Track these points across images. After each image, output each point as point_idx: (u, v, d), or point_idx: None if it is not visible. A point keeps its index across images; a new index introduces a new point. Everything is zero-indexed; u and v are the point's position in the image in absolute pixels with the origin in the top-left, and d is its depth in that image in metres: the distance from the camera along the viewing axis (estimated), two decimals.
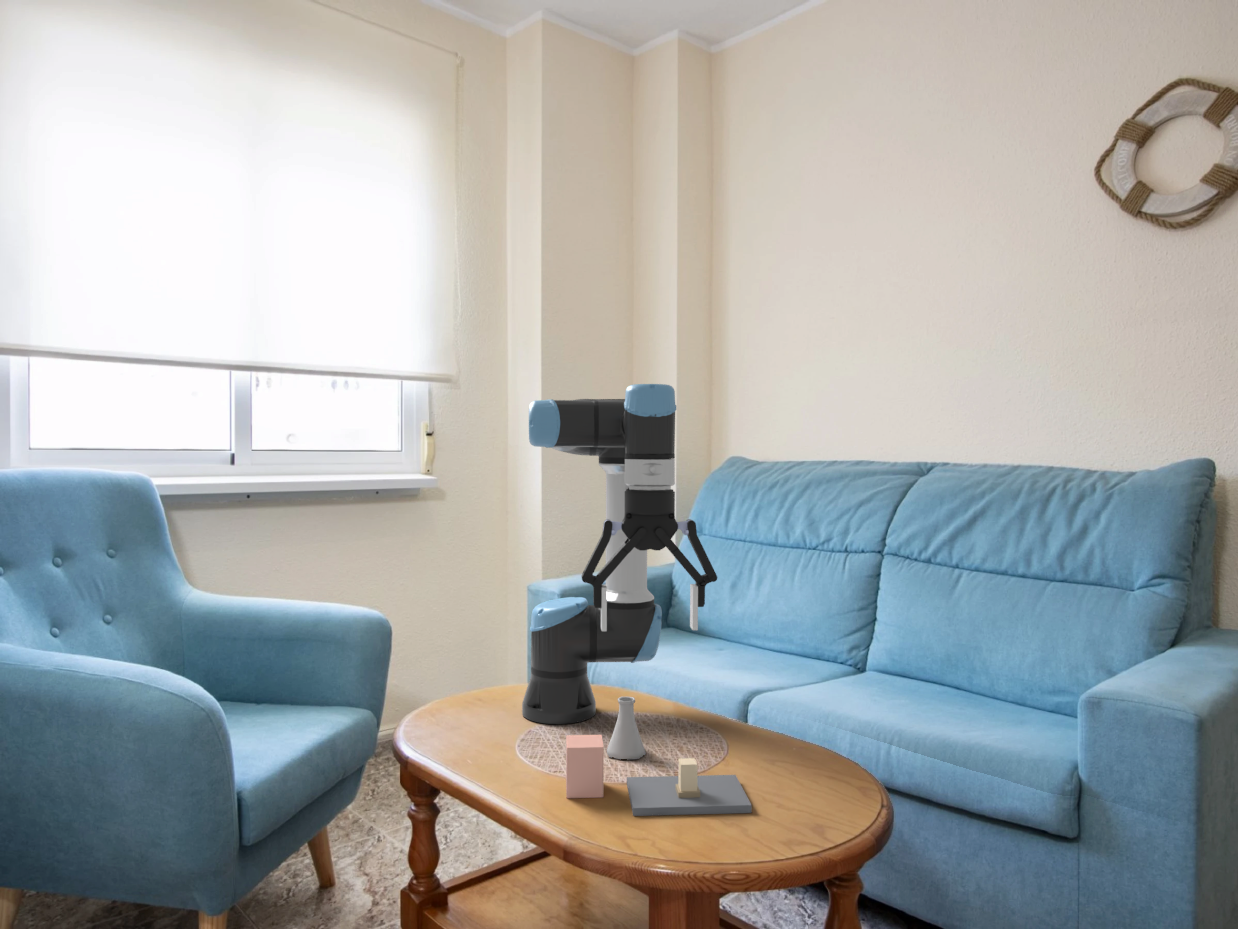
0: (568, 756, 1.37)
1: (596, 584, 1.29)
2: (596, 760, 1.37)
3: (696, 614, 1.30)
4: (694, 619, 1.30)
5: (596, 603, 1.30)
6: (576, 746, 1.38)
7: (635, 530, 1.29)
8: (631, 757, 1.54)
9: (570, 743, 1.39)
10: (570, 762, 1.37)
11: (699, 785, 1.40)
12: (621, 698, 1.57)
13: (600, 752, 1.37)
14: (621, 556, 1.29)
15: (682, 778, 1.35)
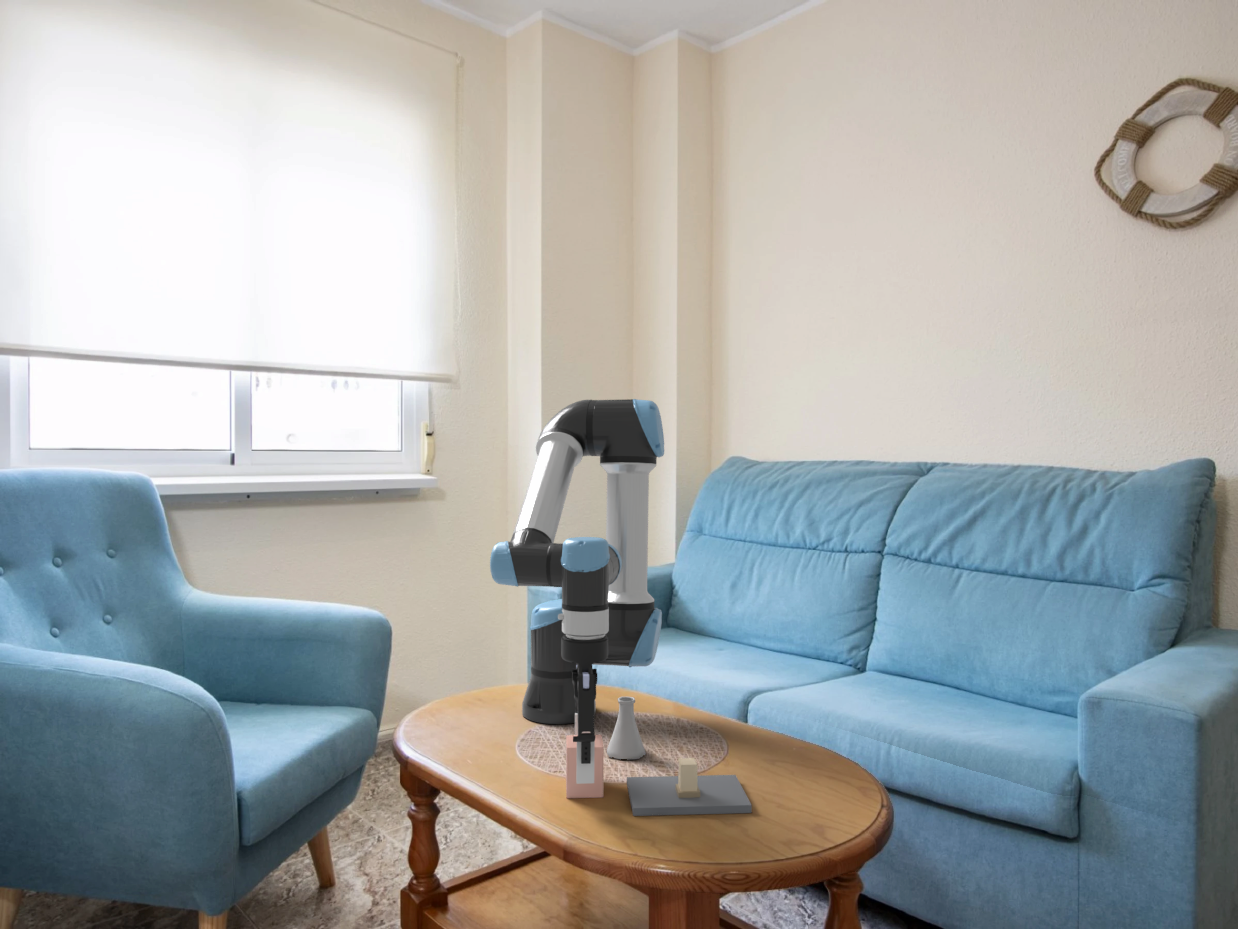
0: (568, 756, 1.37)
1: (575, 709, 1.48)
2: (596, 760, 1.37)
3: None
4: (576, 771, 1.33)
5: None
6: (576, 746, 1.38)
7: None
8: (631, 757, 1.54)
9: (570, 743, 1.39)
10: (570, 762, 1.37)
11: (699, 785, 1.40)
12: (621, 698, 1.57)
13: (600, 752, 1.37)
14: None
15: (682, 778, 1.35)
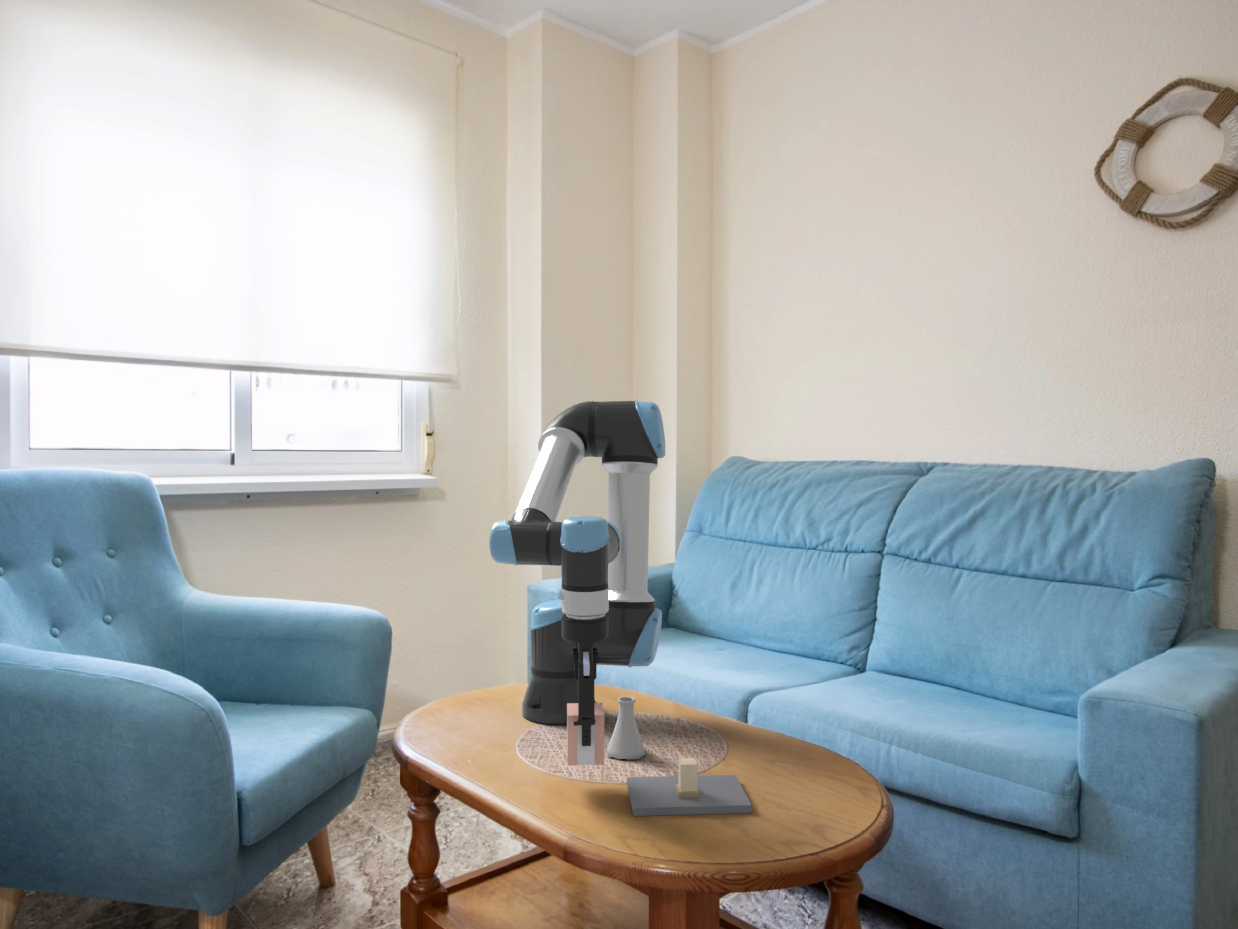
0: (569, 724, 1.37)
1: None
2: (597, 728, 1.38)
3: (577, 749, 1.37)
4: (577, 753, 1.38)
5: None
6: (577, 714, 1.38)
7: None
8: (631, 757, 1.54)
9: (571, 711, 1.39)
10: (571, 730, 1.37)
11: (699, 785, 1.40)
12: (621, 698, 1.57)
13: (601, 720, 1.38)
14: None
15: (682, 778, 1.35)
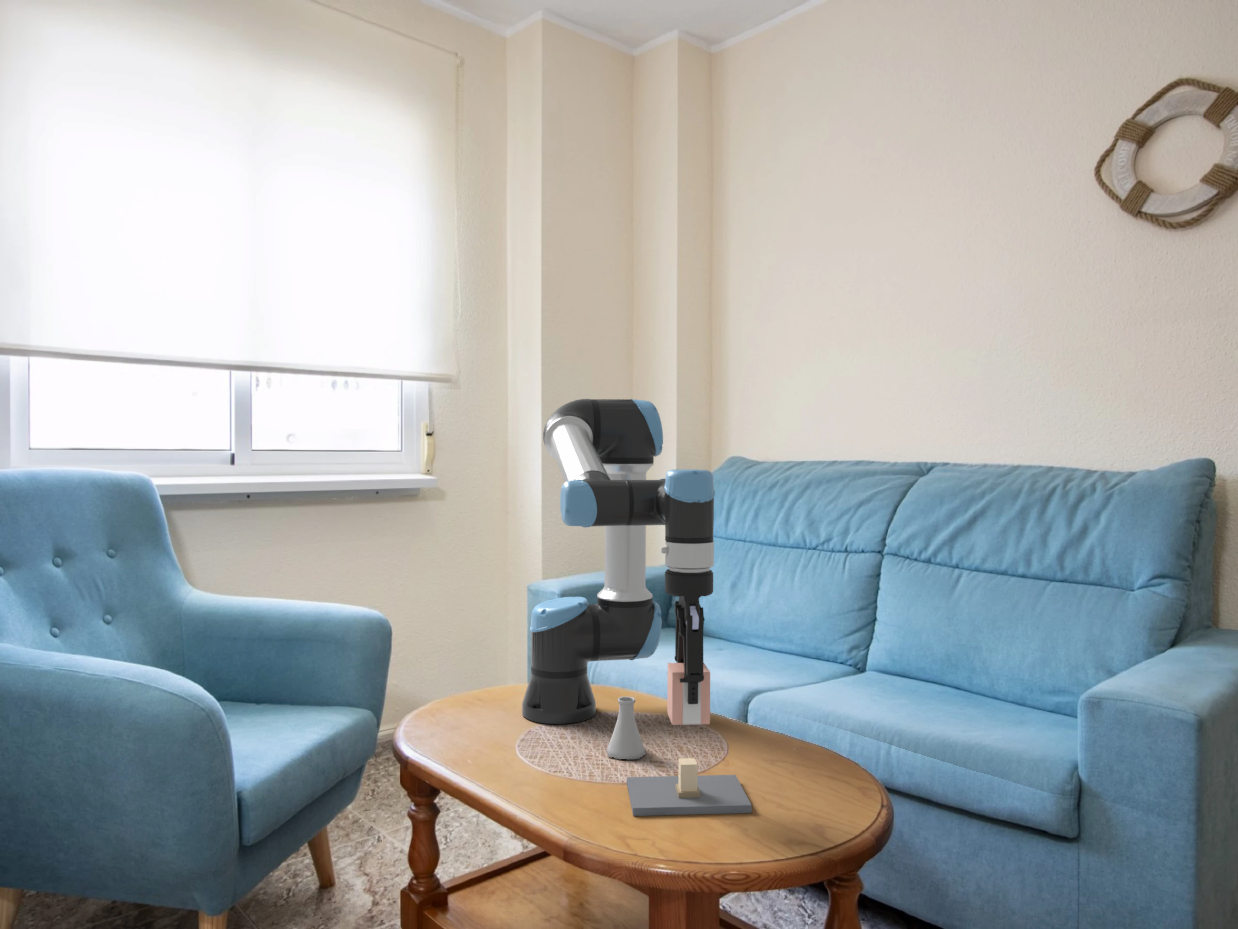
0: (674, 681, 1.33)
1: None
2: (702, 685, 1.33)
3: None
4: None
5: None
6: (682, 671, 1.33)
7: None
8: (631, 757, 1.54)
9: (674, 669, 1.35)
10: (676, 687, 1.33)
11: (699, 785, 1.40)
12: (621, 698, 1.57)
13: (707, 677, 1.33)
14: (678, 636, 1.38)
15: (682, 778, 1.35)
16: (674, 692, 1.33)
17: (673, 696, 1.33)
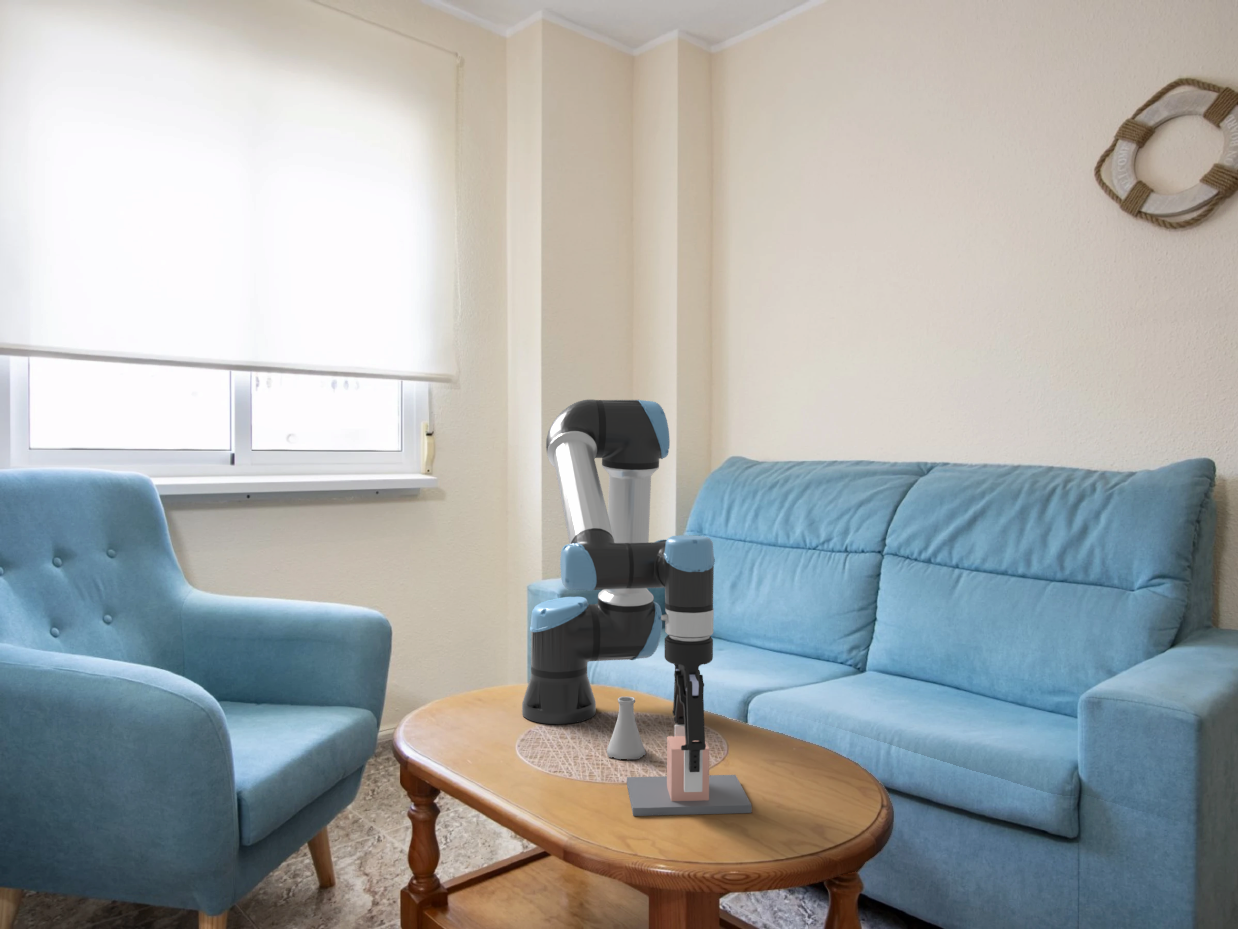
0: (673, 758, 1.33)
1: (674, 720, 1.42)
2: None
3: (684, 775, 1.31)
4: None
5: None
6: None
7: None
8: (631, 757, 1.54)
9: (674, 744, 1.35)
10: (675, 764, 1.33)
11: None
12: (621, 698, 1.57)
13: (706, 754, 1.34)
14: (677, 697, 1.40)
15: None
16: (673, 769, 1.33)
17: (672, 773, 1.33)
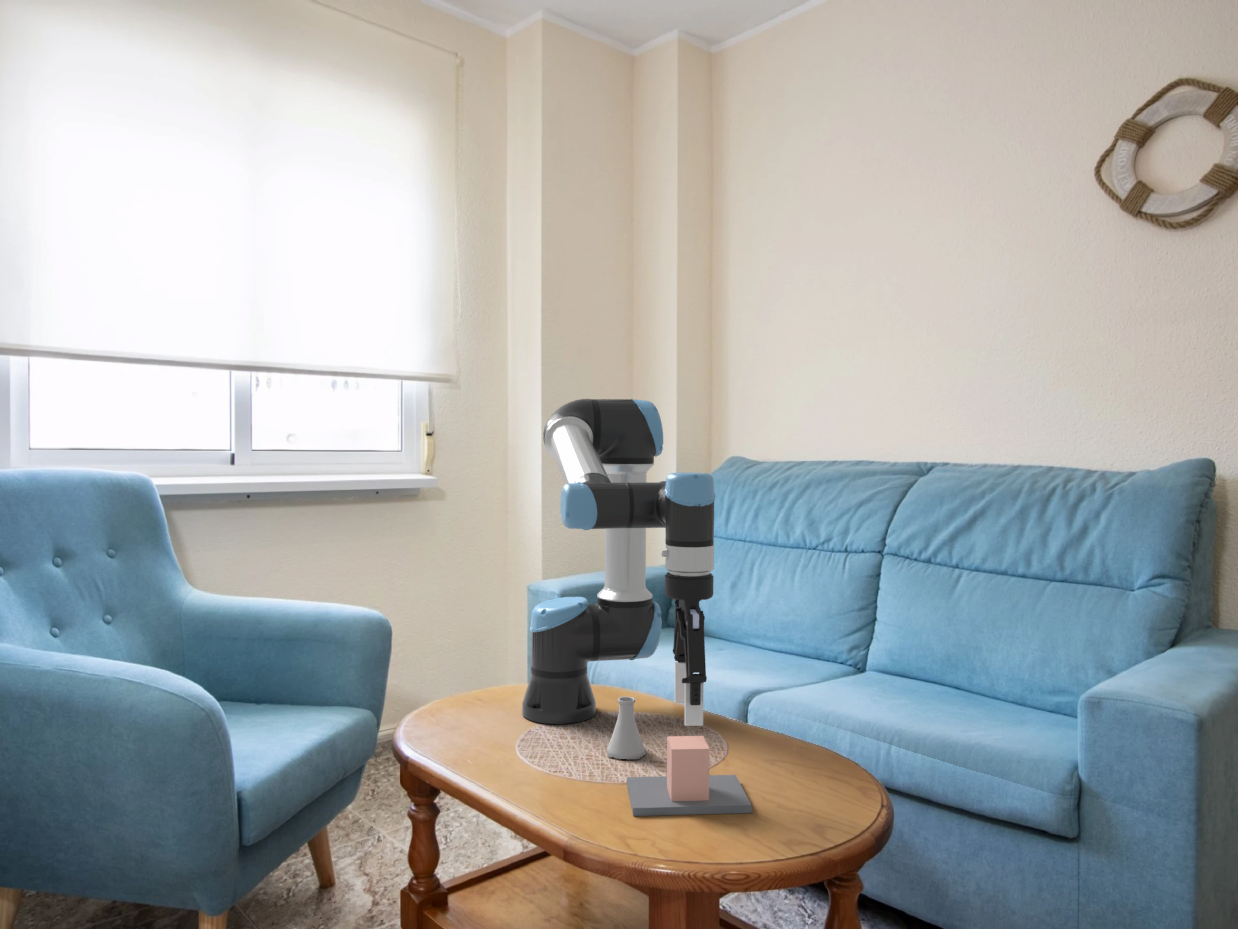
0: (673, 758, 1.33)
1: (674, 658, 1.42)
2: (702, 762, 1.34)
3: (685, 709, 1.30)
4: None
5: None
6: (681, 747, 1.34)
7: None
8: (631, 757, 1.54)
9: (674, 744, 1.35)
10: (675, 764, 1.33)
11: None
12: (621, 698, 1.57)
13: (706, 754, 1.34)
14: (677, 634, 1.39)
15: None
16: (673, 769, 1.33)
17: (672, 773, 1.33)
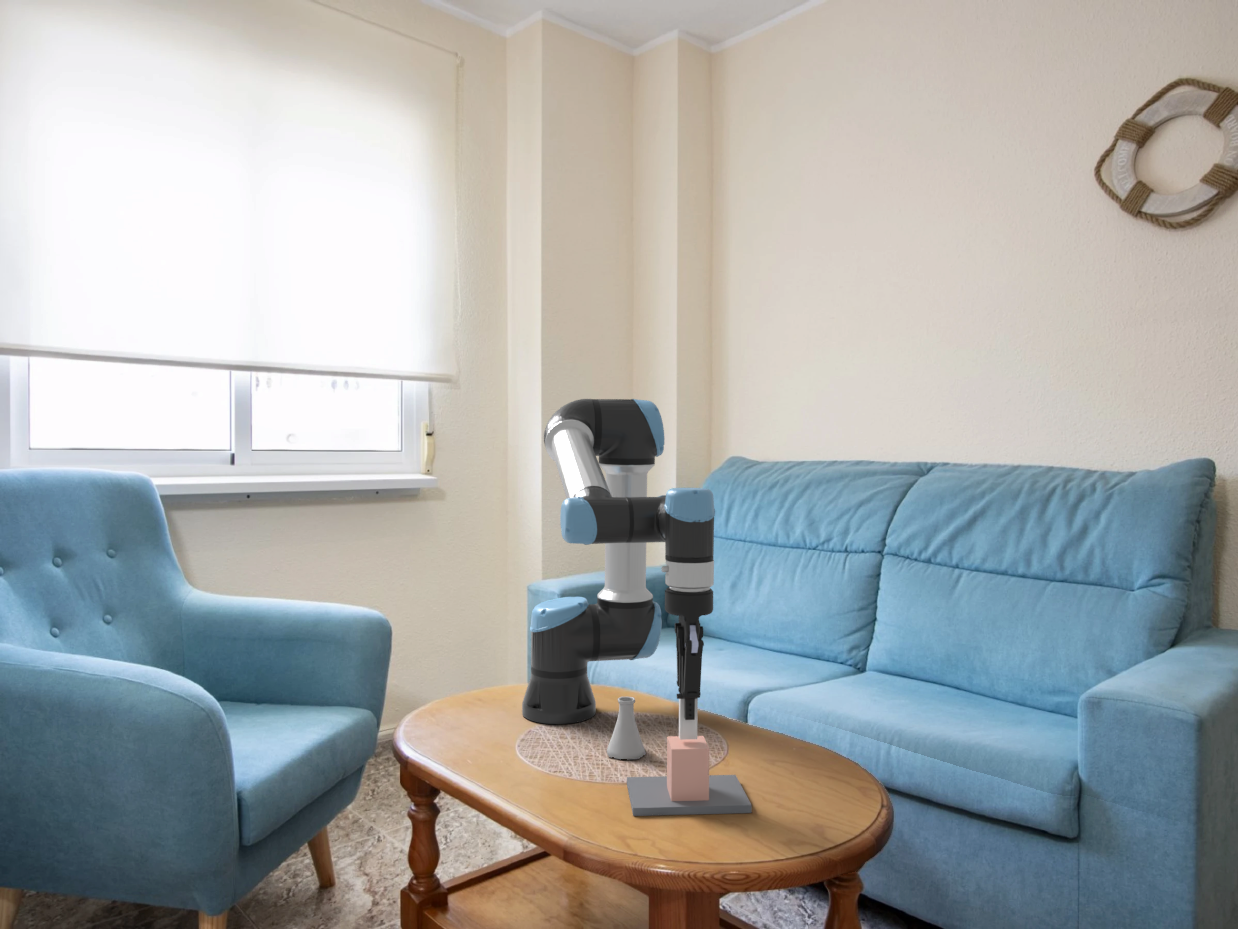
0: (673, 758, 1.33)
1: (679, 691, 1.37)
2: (702, 762, 1.34)
3: (679, 724, 1.36)
4: (679, 728, 1.36)
5: None
6: (681, 747, 1.34)
7: None
8: (631, 757, 1.54)
9: (674, 744, 1.35)
10: (675, 764, 1.33)
11: None
12: (621, 698, 1.57)
13: (706, 754, 1.34)
14: (679, 657, 1.37)
15: None
16: (673, 769, 1.33)
17: (672, 773, 1.33)
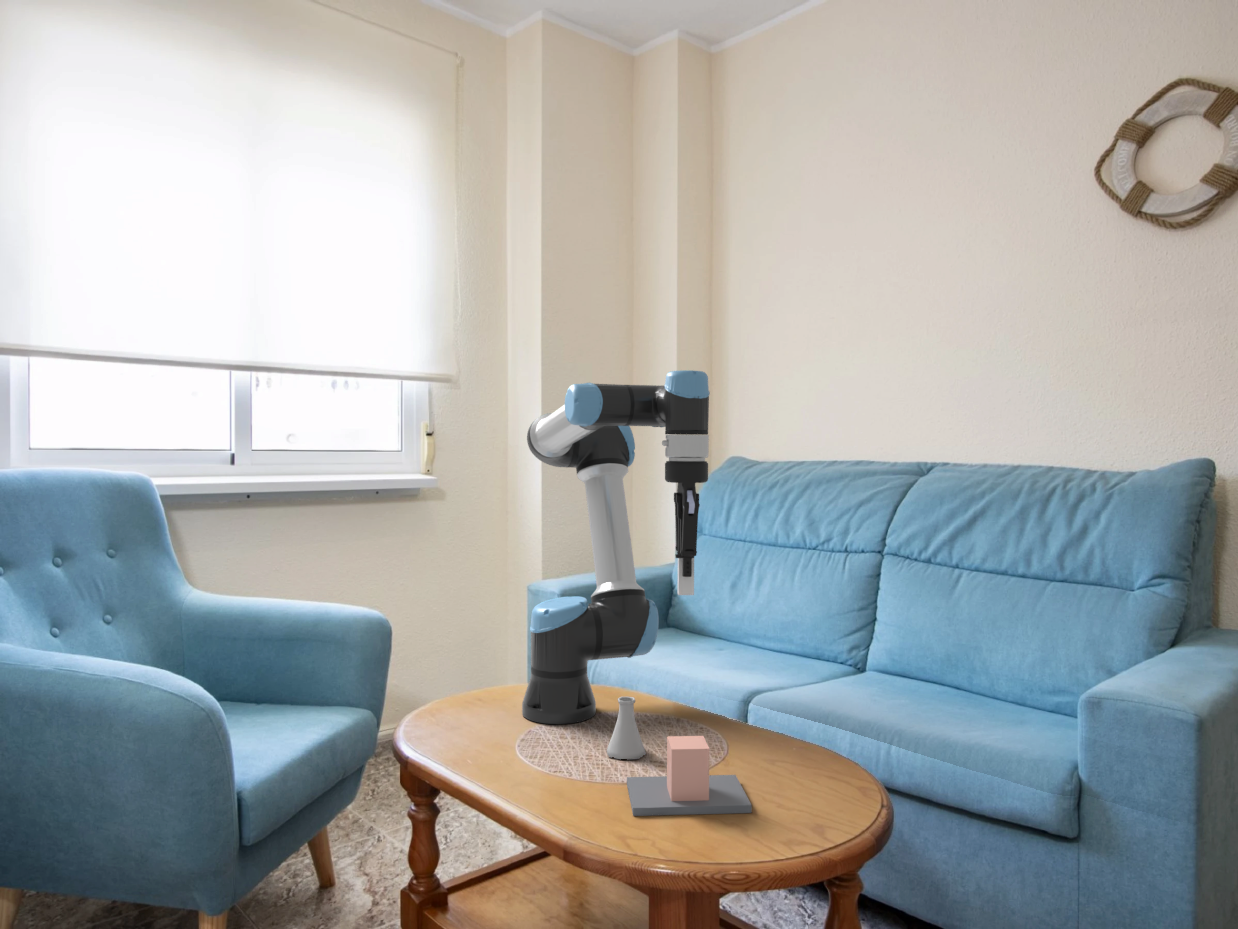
0: (673, 758, 1.33)
1: (677, 554, 1.54)
2: (702, 762, 1.34)
3: (678, 581, 1.52)
4: (678, 585, 1.52)
5: None
6: (681, 747, 1.34)
7: None
8: (631, 757, 1.54)
9: (674, 744, 1.35)
10: (675, 764, 1.33)
11: None
12: (621, 698, 1.57)
13: (706, 754, 1.34)
14: (678, 523, 1.53)
15: None
16: (673, 769, 1.33)
17: (672, 773, 1.33)
